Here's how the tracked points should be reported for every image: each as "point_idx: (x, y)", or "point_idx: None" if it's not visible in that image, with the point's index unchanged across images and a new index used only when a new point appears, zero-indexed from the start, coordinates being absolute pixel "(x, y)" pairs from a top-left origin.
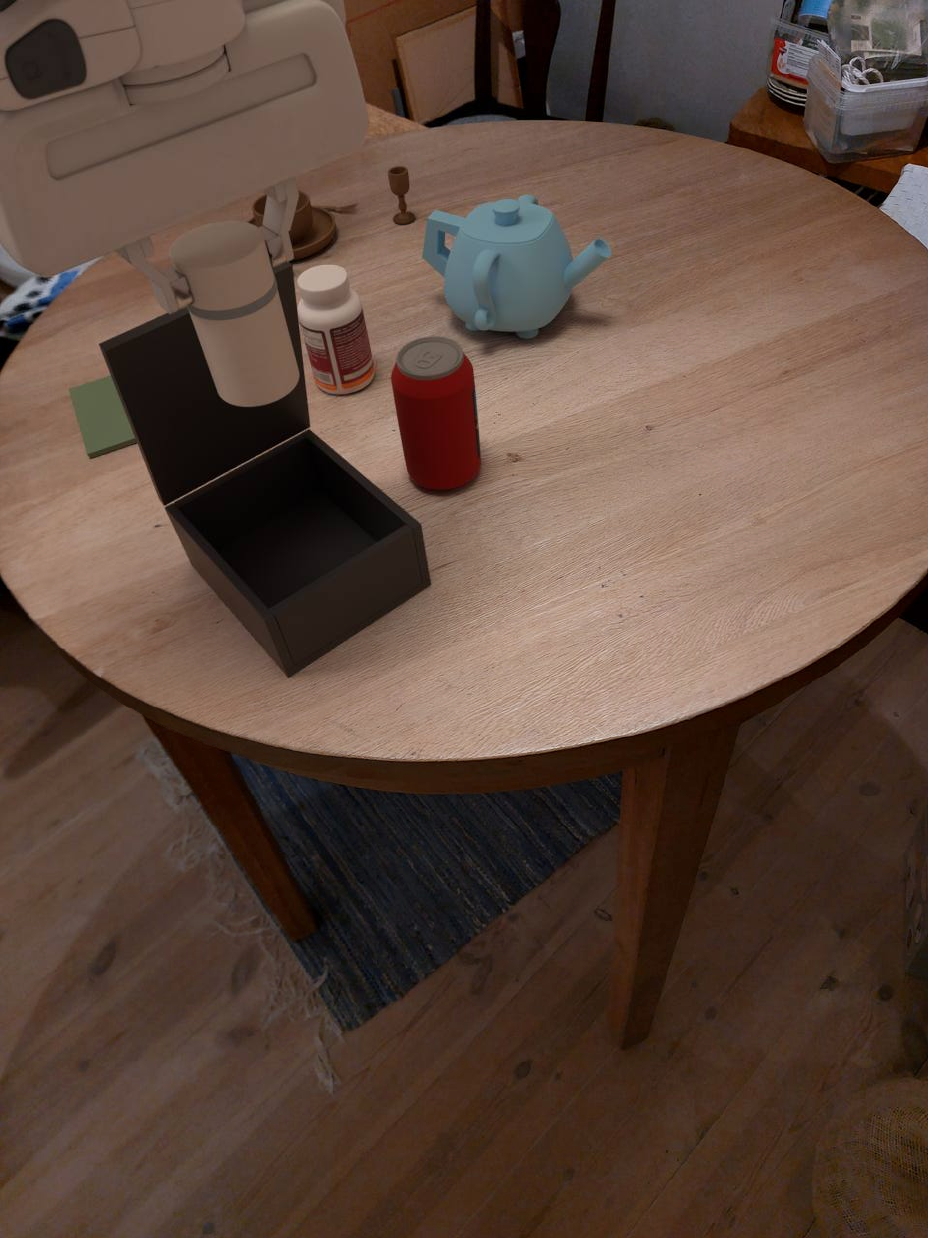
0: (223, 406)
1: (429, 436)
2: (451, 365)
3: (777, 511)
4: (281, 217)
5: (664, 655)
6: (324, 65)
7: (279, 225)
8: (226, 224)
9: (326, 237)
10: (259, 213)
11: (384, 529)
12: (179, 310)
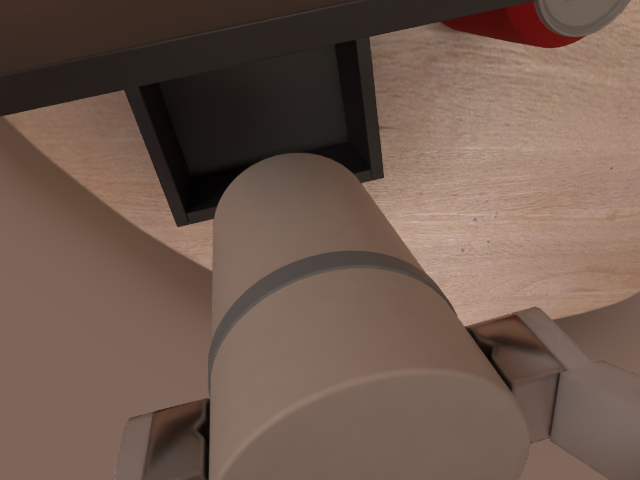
0: None
1: (481, 28)
2: (594, 20)
3: (630, 215)
4: (605, 474)
5: (459, 291)
6: None
7: (578, 452)
8: (466, 404)
9: None
10: None
11: (350, 100)
12: (189, 50)
